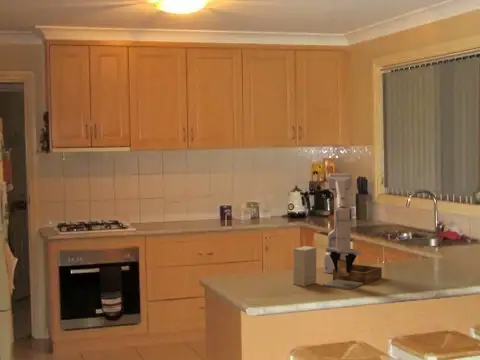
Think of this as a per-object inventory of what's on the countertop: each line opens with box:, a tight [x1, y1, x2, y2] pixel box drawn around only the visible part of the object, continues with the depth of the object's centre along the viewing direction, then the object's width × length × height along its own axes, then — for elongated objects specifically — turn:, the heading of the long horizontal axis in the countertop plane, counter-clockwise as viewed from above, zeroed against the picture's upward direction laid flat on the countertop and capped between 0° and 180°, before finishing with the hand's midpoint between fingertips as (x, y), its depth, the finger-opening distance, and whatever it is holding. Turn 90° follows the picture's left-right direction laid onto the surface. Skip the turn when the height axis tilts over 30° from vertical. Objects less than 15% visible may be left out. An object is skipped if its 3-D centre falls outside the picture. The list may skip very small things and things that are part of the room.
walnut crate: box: [332, 263, 383, 285], centre depth 306 cm, size 15×15×4 cm
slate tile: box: [322, 279, 364, 291], centre depth 293 cm, size 12×12×1 cm
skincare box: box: [292, 245, 317, 287], centre depth 296 cm, size 8×6×15 cm
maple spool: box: [337, 259, 349, 276], centre depth 293 cm, size 4×4×6 cm
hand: (342, 271), depth 293 cm, fingers closed on maple spool, 4 cm apart
